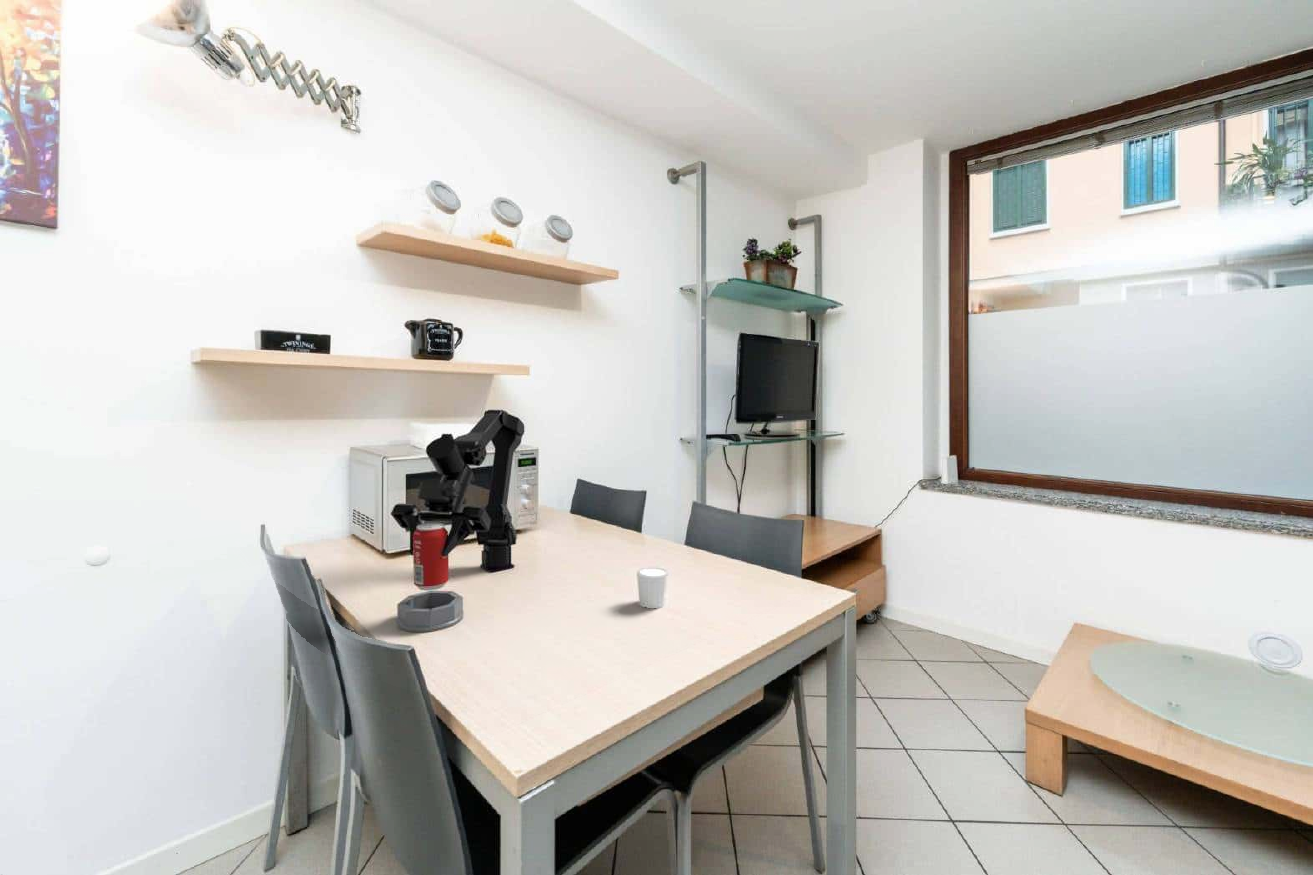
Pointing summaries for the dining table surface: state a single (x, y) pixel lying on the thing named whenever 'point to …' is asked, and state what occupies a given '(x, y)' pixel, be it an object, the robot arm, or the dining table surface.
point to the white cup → (652, 587)
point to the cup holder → (430, 611)
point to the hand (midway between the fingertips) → (427, 555)
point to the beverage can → (430, 556)
